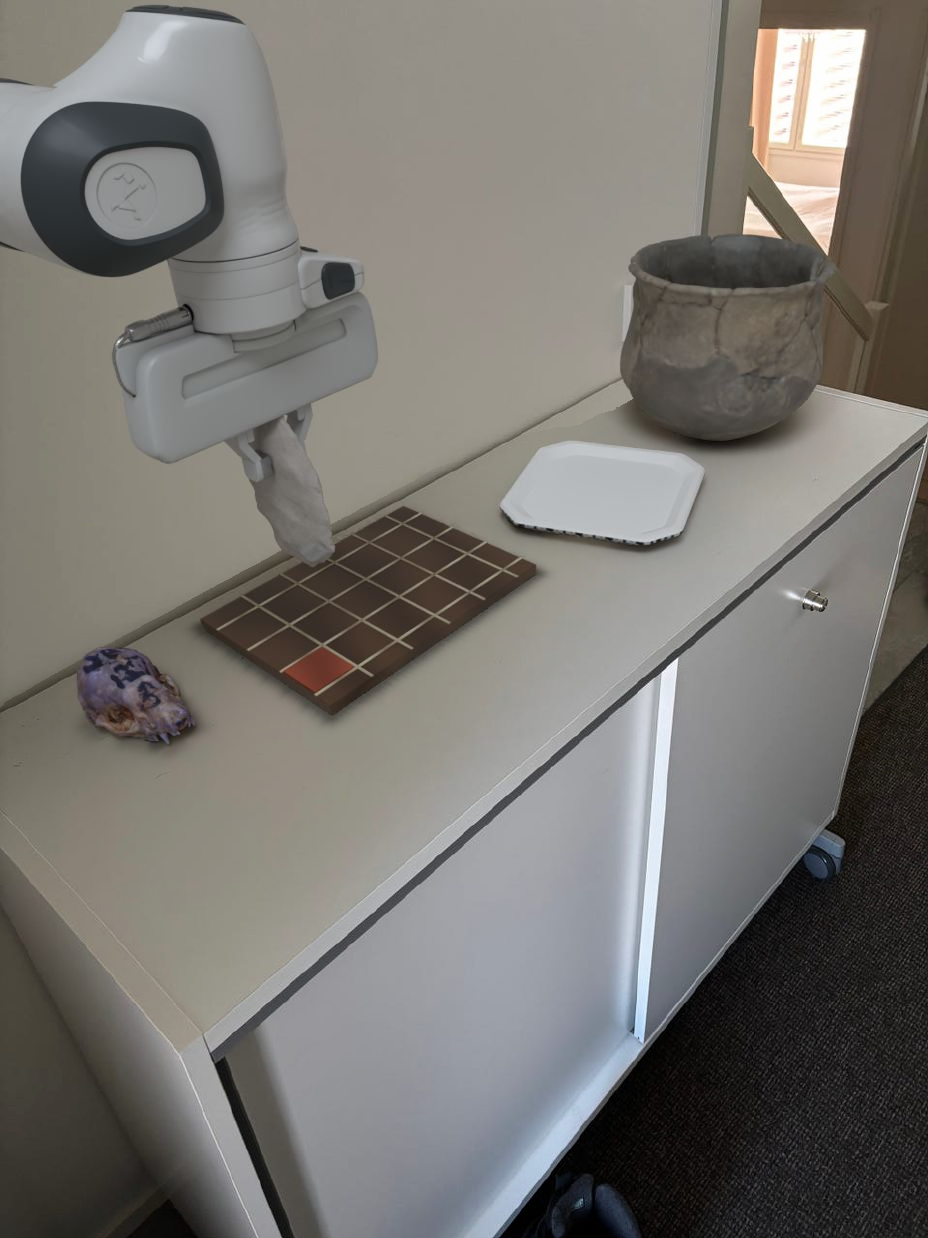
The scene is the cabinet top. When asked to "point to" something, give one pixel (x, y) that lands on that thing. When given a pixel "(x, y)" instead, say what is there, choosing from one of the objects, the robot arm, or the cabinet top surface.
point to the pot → (724, 332)
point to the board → (367, 606)
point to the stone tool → (292, 495)
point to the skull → (130, 695)
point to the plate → (605, 492)
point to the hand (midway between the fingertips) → (277, 469)
